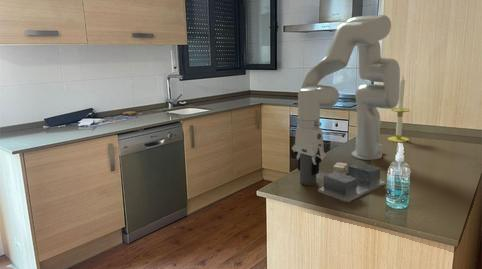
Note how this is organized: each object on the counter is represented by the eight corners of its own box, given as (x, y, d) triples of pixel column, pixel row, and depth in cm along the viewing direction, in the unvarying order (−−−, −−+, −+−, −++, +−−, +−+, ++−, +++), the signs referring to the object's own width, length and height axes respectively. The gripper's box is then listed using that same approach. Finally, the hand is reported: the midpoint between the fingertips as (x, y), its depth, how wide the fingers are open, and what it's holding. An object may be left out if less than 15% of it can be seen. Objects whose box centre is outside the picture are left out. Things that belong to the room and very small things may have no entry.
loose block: (336, 172, 146) (337, 162, 145) (347, 173, 144) (347, 163, 143) (332, 176, 142) (333, 166, 141) (343, 177, 140) (343, 167, 139)
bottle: (318, 181, 137) (319, 142, 134) (312, 186, 133) (313, 146, 129) (303, 178, 140) (303, 140, 137) (297, 183, 135) (297, 144, 132)
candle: (405, 137, 192) (410, 73, 183) (411, 142, 182) (417, 75, 174) (385, 137, 193) (389, 74, 185) (390, 142, 183) (394, 76, 175)
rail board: (355, 175, 141) (356, 160, 140) (384, 184, 132) (385, 168, 131) (318, 191, 128) (318, 175, 126) (347, 202, 119) (348, 185, 117)
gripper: (335, 125, 127) (333, 175, 131) (297, 118, 140) (297, 163, 144) (321, 129, 122) (320, 180, 127) (283, 121, 135) (284, 168, 140)
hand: (308, 171), depth 135 cm, fingers closed on bottle, 5 cm apart
